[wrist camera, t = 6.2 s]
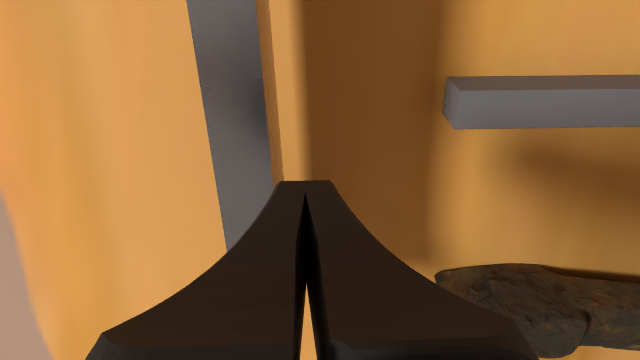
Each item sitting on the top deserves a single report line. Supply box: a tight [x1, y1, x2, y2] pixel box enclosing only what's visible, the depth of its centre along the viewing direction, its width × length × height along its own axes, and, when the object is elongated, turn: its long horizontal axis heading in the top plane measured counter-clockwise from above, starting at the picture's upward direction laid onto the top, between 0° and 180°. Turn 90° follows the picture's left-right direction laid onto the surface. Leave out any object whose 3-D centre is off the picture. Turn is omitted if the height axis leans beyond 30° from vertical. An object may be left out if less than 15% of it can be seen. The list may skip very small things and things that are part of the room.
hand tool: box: [434, 263, 640, 358], centre depth 25 cm, size 19×4×5 cm, turn 78°
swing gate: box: [186, 0, 284, 252], centre depth 16 cm, size 21×2×7 cm, turn 2°
